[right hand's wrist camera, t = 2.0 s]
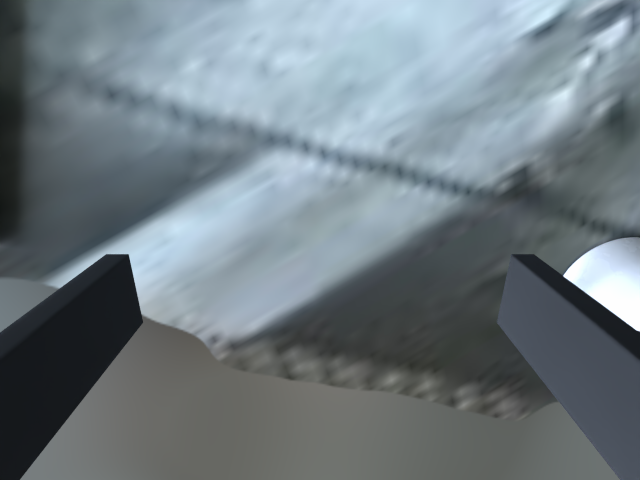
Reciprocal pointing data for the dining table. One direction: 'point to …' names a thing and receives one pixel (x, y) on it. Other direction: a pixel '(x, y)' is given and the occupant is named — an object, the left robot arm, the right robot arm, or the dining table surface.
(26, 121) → the dining table surface
